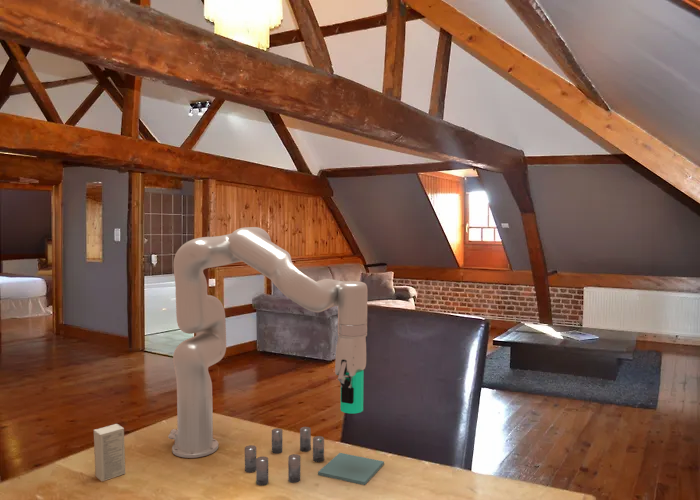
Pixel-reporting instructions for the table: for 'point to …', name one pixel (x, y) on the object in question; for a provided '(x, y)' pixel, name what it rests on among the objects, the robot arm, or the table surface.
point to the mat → (351, 468)
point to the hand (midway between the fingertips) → (351, 398)
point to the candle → (355, 395)
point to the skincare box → (109, 452)
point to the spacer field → (277, 447)
